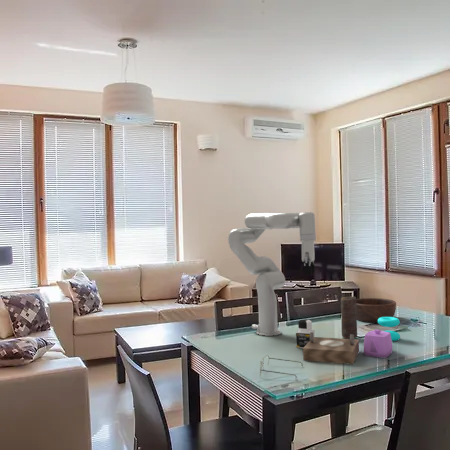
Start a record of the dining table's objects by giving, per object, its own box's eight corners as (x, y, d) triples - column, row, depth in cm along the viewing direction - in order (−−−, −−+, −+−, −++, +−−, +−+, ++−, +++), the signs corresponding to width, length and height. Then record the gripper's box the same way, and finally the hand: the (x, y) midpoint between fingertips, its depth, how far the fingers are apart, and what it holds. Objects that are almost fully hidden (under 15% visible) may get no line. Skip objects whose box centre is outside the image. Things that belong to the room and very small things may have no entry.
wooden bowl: (348, 315, 284) (348, 298, 284) (391, 314, 281) (390, 297, 281) (354, 323, 259) (353, 305, 259) (401, 323, 256) (400, 304, 256)
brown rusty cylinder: (358, 340, 223) (356, 298, 223) (342, 340, 224) (340, 298, 224) (356, 336, 230) (355, 295, 230) (341, 336, 232) (340, 295, 232)
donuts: (396, 321, 216) (374, 319, 222) (397, 342, 216) (375, 340, 222) (402, 317, 224) (381, 315, 230) (402, 338, 224) (381, 335, 230)
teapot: (385, 361, 189) (384, 335, 189) (359, 357, 195) (358, 333, 195) (396, 350, 204) (395, 326, 204) (371, 347, 210) (370, 324, 210)
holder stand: (303, 360, 193) (302, 337, 193) (313, 347, 212) (312, 327, 212) (353, 364, 186) (352, 340, 186) (359, 351, 204) (358, 329, 204)
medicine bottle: (296, 347, 213) (295, 321, 213) (299, 343, 220) (299, 318, 220) (311, 348, 211) (311, 322, 211) (315, 344, 217) (314, 319, 217)
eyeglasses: (265, 365, 189) (265, 353, 189) (302, 367, 185) (302, 355, 185) (256, 378, 174) (256, 365, 174) (297, 381, 170) (296, 367, 170)
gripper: (303, 237, 235) (305, 272, 235) (296, 238, 219) (298, 275, 218) (318, 237, 232) (320, 271, 232) (312, 238, 216) (314, 275, 216)
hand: (309, 273), depth 225 cm, fingers open, 9 cm apart
